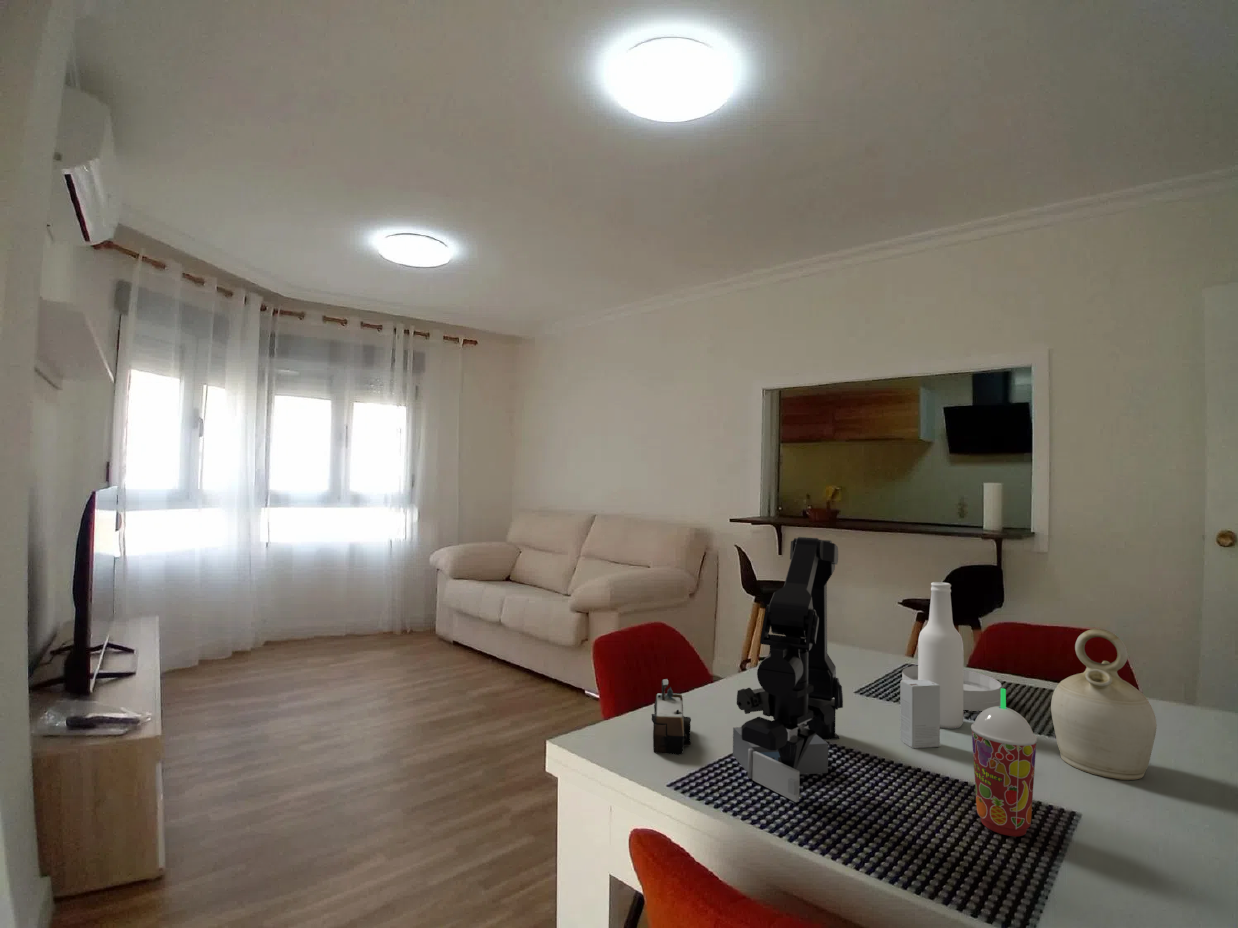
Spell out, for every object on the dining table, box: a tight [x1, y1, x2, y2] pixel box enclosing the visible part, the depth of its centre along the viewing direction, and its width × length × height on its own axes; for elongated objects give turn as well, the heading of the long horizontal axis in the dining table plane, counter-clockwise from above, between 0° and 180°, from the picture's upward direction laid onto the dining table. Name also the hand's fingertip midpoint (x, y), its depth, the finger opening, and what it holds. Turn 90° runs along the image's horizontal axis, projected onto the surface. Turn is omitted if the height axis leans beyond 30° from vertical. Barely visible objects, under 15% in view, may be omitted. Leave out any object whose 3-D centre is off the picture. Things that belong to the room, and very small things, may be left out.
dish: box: [901, 665, 1003, 711], centre depth 155 cm, size 22×22×5 cm
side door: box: [747, 748, 800, 803], centre depth 102 cm, size 10×2×5 cm, turn 36°
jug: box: [1050, 628, 1158, 781], centre depth 116 cm, size 15×16×25 cm
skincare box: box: [899, 679, 941, 749], centre depth 124 cm, size 6×4×12 cm
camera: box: [651, 678, 692, 756], centre depth 122 cm, size 15×8×10 cm, turn 173°
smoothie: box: [970, 688, 1038, 837], centre depth 93 cm, size 8×8×20 cm
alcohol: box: [917, 581, 965, 730], centre depth 137 cm, size 9×9×30 cm
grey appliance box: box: [732, 726, 829, 775], centre depth 112 cm, size 14×9×6 cm, turn 100°
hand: (789, 775), depth 101 cm, fingers closed
